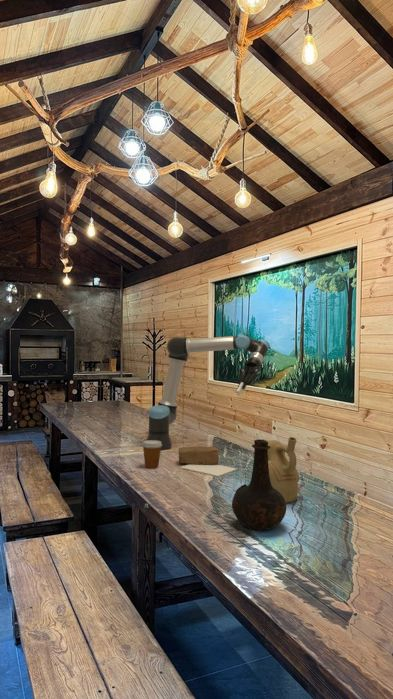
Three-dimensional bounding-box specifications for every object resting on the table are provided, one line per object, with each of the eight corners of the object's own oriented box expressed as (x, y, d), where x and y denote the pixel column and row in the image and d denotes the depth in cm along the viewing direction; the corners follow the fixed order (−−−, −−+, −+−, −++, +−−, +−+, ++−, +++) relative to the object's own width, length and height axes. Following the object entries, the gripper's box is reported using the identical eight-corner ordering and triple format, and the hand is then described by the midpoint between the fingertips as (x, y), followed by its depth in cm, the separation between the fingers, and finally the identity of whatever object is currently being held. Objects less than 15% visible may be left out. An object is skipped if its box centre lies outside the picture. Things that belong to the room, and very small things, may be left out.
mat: (180, 468, 216) (180, 467, 216) (200, 462, 229) (200, 460, 229) (218, 477, 203) (218, 475, 203) (237, 469, 215) (237, 468, 215)
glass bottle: (250, 511, 161) (252, 432, 161) (295, 524, 150) (297, 440, 149) (220, 525, 147) (222, 439, 147) (268, 541, 136) (270, 448, 136)
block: (219, 449, 220) (178, 450, 220) (219, 465, 220) (178, 465, 220) (218, 445, 231) (178, 445, 231) (218, 459, 231) (179, 459, 231)
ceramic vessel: (284, 488, 188) (285, 428, 188) (312, 504, 170) (314, 437, 170) (247, 492, 182) (249, 430, 182) (273, 509, 164) (274, 440, 163)
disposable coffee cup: (160, 469, 213) (161, 444, 212) (140, 469, 213) (141, 443, 213) (162, 464, 222) (163, 440, 222) (143, 464, 222) (143, 439, 222)
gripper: (242, 356, 259) (225, 387, 245) (262, 357, 251) (246, 389, 237) (247, 365, 263) (230, 396, 250) (267, 366, 255) (251, 398, 242)
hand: (238, 392), depth 243 cm, fingers closed
